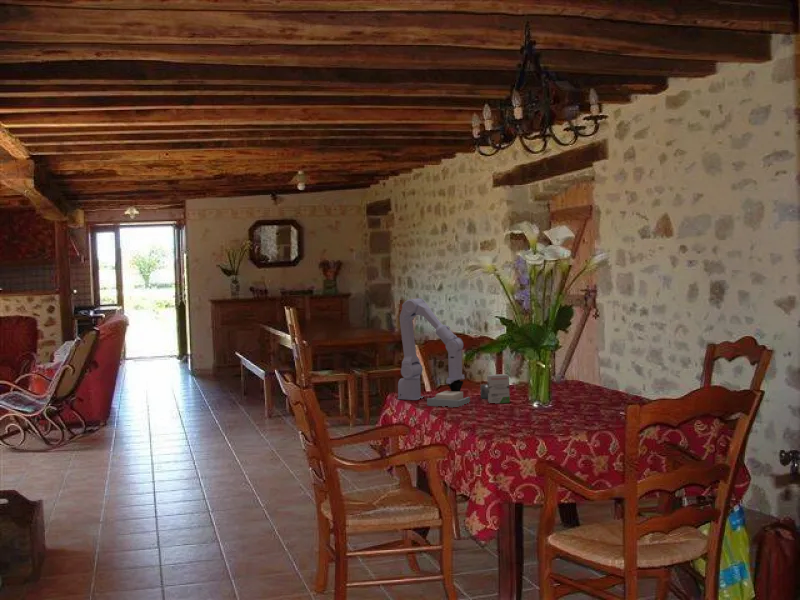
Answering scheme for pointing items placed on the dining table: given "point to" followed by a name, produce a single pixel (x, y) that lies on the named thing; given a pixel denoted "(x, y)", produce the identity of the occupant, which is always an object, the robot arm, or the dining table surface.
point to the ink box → (498, 388)
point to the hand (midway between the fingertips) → (455, 398)
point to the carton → (450, 395)
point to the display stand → (447, 402)
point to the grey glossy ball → (484, 391)
